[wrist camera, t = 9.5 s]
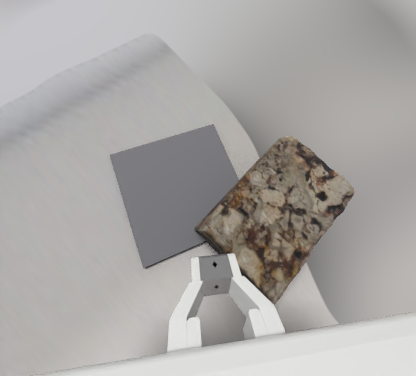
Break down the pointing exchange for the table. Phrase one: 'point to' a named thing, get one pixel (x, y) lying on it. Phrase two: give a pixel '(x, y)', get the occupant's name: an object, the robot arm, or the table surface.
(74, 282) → the table surface
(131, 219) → the mat
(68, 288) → the table surface
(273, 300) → the stone block
